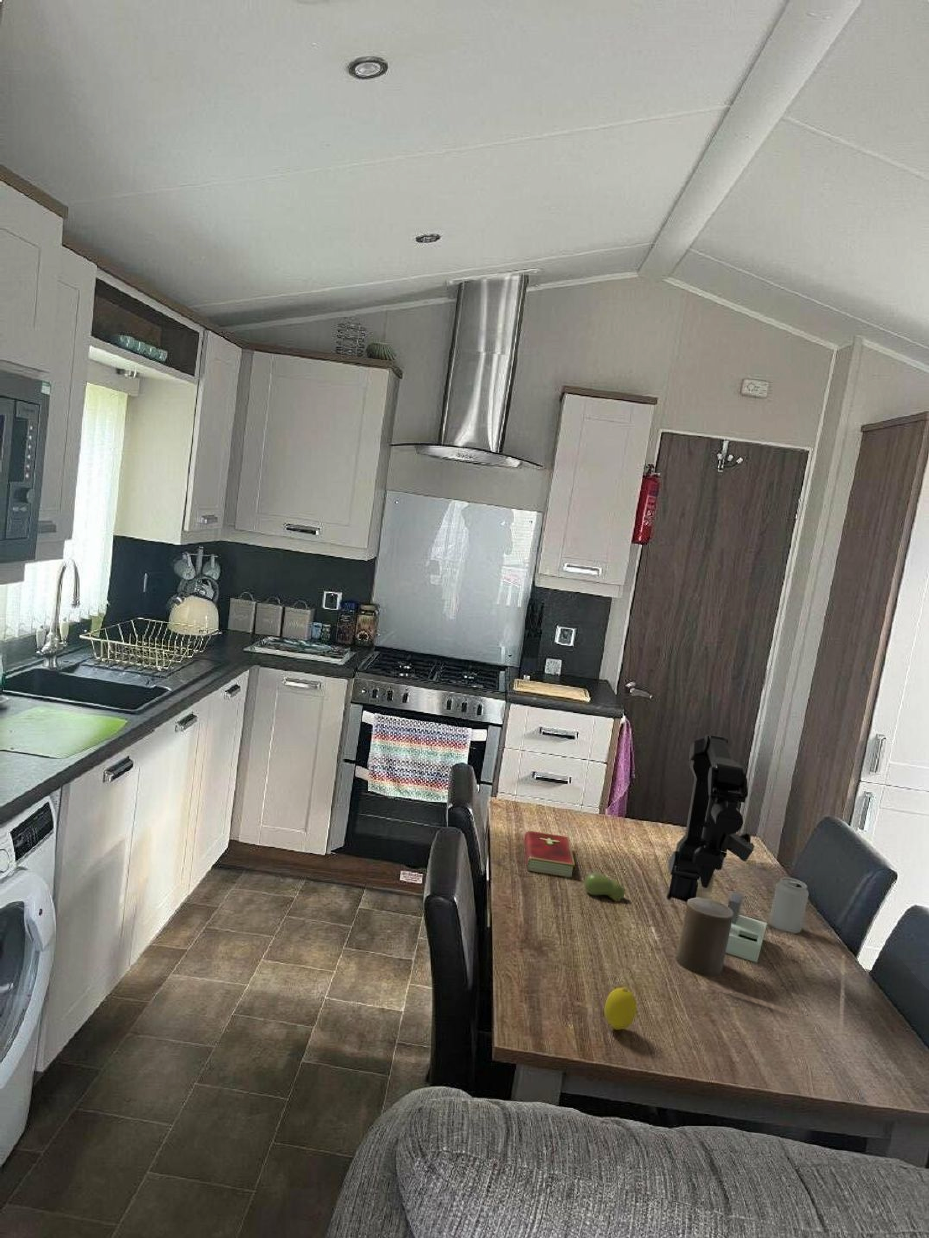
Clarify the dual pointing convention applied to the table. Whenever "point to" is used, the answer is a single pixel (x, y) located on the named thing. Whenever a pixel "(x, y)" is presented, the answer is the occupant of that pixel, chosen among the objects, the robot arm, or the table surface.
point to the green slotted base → (744, 925)
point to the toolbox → (743, 949)
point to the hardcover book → (548, 853)
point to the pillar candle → (704, 936)
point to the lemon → (620, 1008)
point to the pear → (603, 886)
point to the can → (789, 905)
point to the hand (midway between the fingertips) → (705, 884)
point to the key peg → (703, 891)
